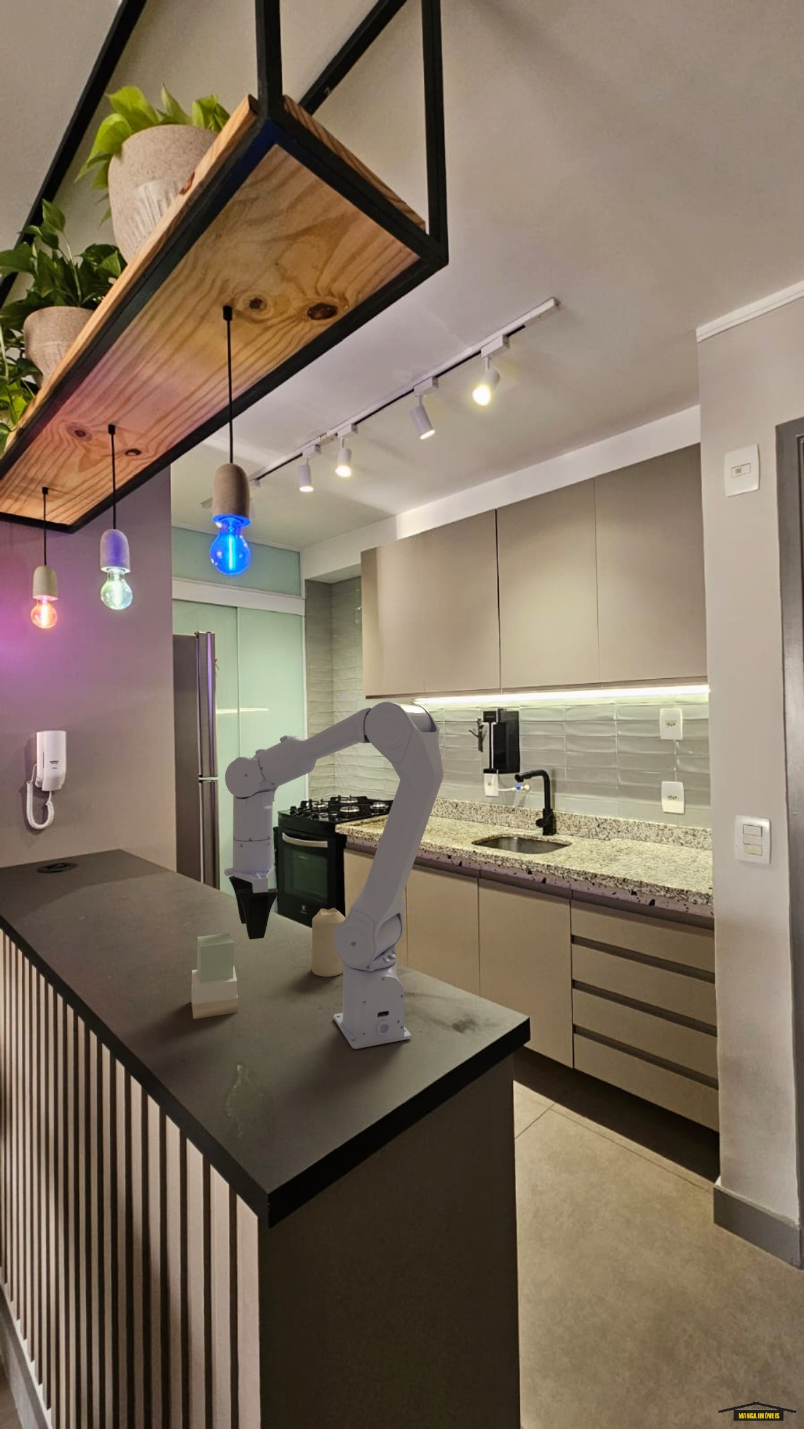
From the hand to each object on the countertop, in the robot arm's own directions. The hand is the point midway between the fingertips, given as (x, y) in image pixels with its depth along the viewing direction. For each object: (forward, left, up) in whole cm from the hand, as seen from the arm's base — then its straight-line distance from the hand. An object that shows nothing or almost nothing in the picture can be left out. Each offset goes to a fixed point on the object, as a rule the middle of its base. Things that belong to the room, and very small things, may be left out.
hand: (252, 930), depth 94 cm
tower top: (0, +5, -8) cm, 10 cm away
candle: (+7, -14, -11) cm, 19 cm away
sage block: (0, +5, -6) cm, 8 cm away
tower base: (0, +5, -11) cm, 12 cm away
